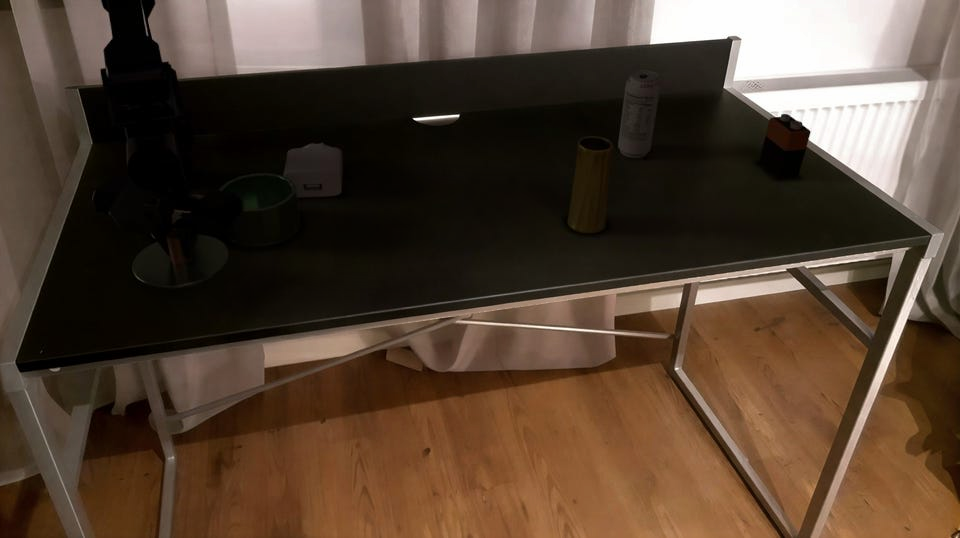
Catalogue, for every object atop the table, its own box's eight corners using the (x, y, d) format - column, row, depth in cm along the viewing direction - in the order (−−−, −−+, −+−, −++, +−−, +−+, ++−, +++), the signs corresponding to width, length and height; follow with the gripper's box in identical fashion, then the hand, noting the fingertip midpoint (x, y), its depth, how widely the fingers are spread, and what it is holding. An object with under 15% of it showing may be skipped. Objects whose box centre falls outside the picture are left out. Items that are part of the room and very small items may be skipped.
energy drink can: (654, 150, 150) (667, 73, 141) (642, 162, 146) (653, 84, 137) (625, 141, 152) (635, 66, 144) (612, 153, 148) (621, 76, 139)
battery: (777, 180, 141) (791, 128, 135) (757, 162, 146) (769, 112, 140) (799, 177, 142) (813, 126, 136) (778, 160, 147) (791, 110, 141)
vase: (580, 237, 124) (589, 155, 116) (559, 219, 129) (567, 138, 120) (613, 228, 127) (624, 147, 118) (591, 210, 131) (600, 131, 123)
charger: (344, 155, 146) (341, 195, 133) (292, 156, 145) (285, 198, 132) (342, 131, 143) (339, 170, 131) (289, 132, 142) (282, 172, 130)
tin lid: (114, 284, 106) (104, 252, 103) (167, 235, 116) (159, 204, 113) (199, 299, 104) (192, 267, 101) (246, 248, 114) (240, 217, 111)
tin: (210, 241, 121) (202, 204, 118) (246, 204, 131) (240, 168, 127) (280, 252, 119) (274, 215, 115) (312, 214, 128) (308, 178, 125)
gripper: (48, 172, 95) (83, 278, 104) (188, 194, 92) (211, 301, 101) (105, 133, 104) (133, 234, 113) (235, 152, 101) (253, 254, 110)
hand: (180, 255), depth 109 cm, fingers closed on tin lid, 2 cm apart
